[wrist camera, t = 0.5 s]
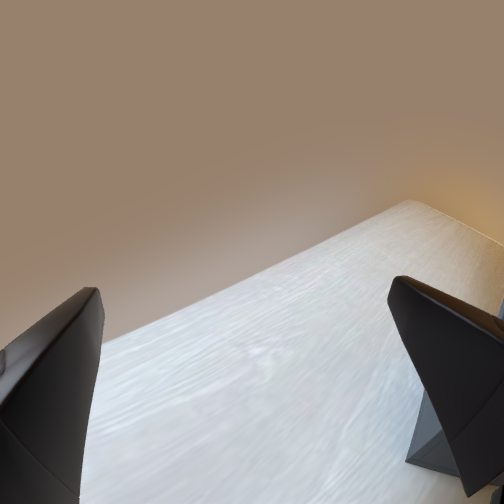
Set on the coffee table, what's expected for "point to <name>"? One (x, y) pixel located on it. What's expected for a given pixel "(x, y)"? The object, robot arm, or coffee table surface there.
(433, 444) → the chest
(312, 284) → the coffee table surface
